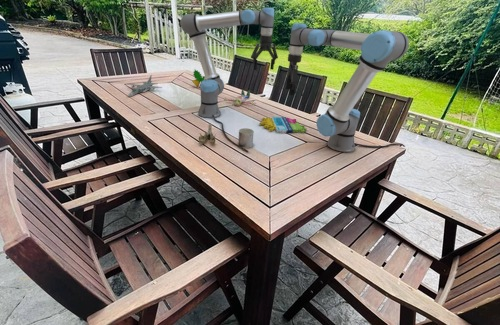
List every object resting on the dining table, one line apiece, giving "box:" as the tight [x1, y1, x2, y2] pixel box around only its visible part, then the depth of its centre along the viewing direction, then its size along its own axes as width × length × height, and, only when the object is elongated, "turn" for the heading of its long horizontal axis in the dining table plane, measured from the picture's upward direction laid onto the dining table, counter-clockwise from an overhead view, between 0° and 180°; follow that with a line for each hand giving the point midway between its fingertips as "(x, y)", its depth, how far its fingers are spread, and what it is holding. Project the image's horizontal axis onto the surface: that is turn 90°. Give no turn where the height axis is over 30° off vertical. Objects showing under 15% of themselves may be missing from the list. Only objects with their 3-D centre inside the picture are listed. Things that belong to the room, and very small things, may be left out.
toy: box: [223, 89, 257, 106], centre depth 219 cm, size 28×7×30 cm
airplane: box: [126, 74, 163, 98], centre depth 227 cm, size 38×31×10 cm
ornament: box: [191, 69, 205, 89], centre depth 252 cm, size 21×8×15 cm, turn 105°
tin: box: [237, 127, 255, 149], centre depth 145 cm, size 8×8×8 cm
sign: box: [259, 116, 307, 134], centre depth 176 cm, size 26×2×30 cm
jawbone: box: [198, 123, 217, 146], centre depth 145 cm, size 9×15×10 cm
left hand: (263, 69), depth 179 cm, fingers open, 13 cm apart
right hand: (289, 92), depth 157 cm, fingers open, 13 cm apart
